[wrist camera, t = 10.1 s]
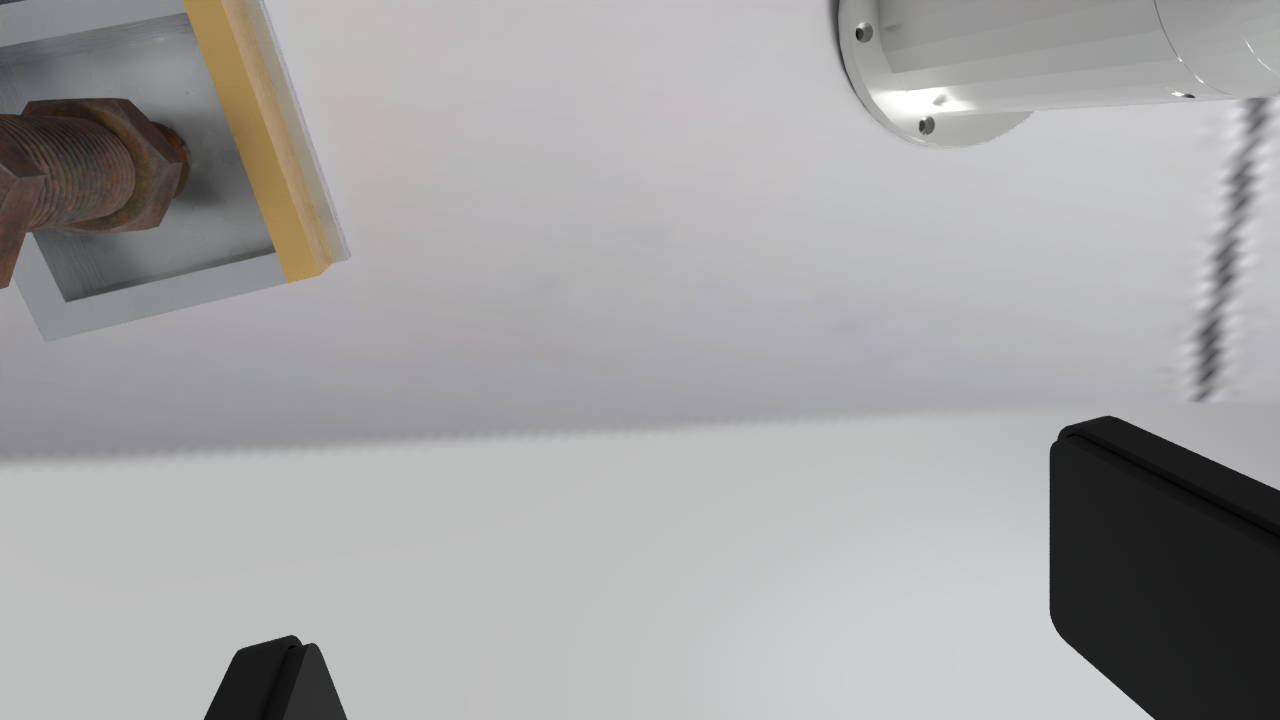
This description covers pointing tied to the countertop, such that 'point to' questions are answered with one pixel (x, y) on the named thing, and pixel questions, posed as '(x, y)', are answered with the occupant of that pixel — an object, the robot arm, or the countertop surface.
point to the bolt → (84, 171)
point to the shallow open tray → (205, 121)
